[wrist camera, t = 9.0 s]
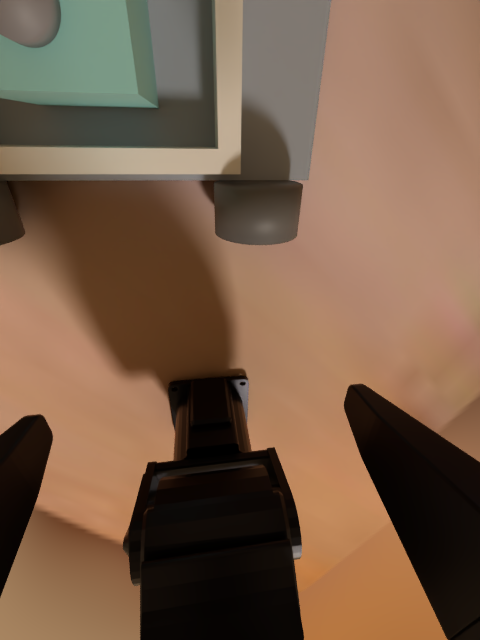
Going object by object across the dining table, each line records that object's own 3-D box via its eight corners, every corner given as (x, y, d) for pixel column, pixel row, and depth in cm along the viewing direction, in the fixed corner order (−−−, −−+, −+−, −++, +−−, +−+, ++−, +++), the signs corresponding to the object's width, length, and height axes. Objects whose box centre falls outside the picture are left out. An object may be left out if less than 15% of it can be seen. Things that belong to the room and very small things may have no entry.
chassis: (297, 220, 18) (324, 243, 14) (-64, 227, 16) (-143, 256, 12) (362, -338, 9) (478, -656, 5) (-462, -517, 7) (-1258, -1306, 3)
